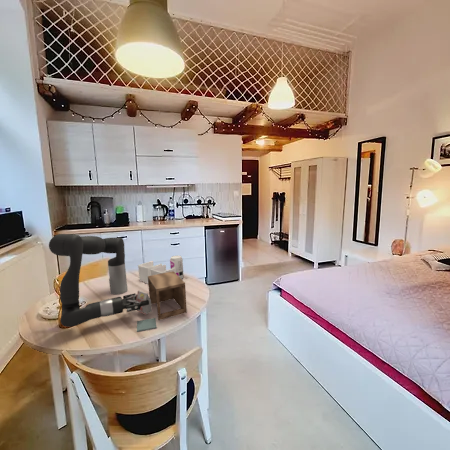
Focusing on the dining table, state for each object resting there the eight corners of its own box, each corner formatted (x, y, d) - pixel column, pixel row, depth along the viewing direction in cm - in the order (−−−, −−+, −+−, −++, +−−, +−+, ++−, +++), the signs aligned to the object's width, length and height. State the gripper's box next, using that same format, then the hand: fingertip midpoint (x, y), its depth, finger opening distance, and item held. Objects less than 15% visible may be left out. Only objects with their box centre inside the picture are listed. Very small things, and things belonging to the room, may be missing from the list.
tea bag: (142, 307, 130) (141, 289, 129) (151, 311, 127) (150, 292, 125) (136, 310, 127) (135, 291, 126) (145, 314, 124) (144, 295, 122)
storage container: (139, 280, 171) (138, 265, 169) (153, 275, 180) (152, 260, 178) (162, 290, 156) (161, 272, 154) (176, 284, 164) (175, 267, 162)
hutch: (158, 320, 121) (156, 289, 118) (150, 303, 138) (147, 276, 135) (186, 312, 127) (185, 282, 125) (175, 297, 144) (173, 271, 142)
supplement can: (173, 281, 168) (171, 259, 165) (169, 277, 175) (168, 256, 172) (185, 279, 171) (183, 257, 169) (181, 275, 179) (180, 254, 176)
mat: (136, 332, 112) (136, 330, 112) (137, 322, 120) (137, 321, 120) (156, 328, 114) (156, 327, 114) (155, 318, 122) (155, 317, 122)
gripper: (112, 305, 112) (149, 297, 120) (109, 293, 125) (143, 286, 132) (113, 321, 114) (150, 311, 121) (110, 307, 126) (144, 300, 134)
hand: (147, 298), depth 127 cm, fingers closed on tea bag, 8 cm apart
